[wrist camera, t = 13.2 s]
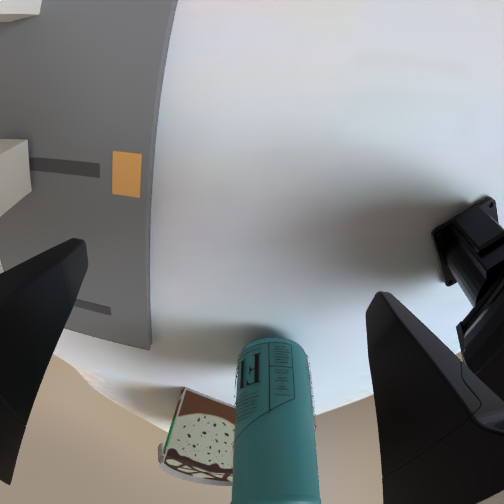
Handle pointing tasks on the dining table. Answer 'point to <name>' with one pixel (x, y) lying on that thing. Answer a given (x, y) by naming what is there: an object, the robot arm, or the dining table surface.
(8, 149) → the block
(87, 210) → the three pillar stand
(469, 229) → the robot arm
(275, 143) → the dining table surface
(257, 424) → the beverage bottle
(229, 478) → the food container
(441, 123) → the dining table surface
